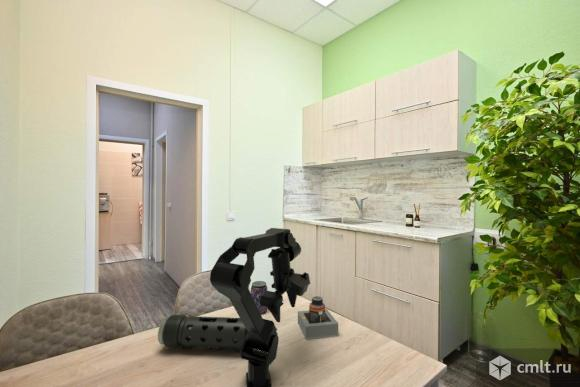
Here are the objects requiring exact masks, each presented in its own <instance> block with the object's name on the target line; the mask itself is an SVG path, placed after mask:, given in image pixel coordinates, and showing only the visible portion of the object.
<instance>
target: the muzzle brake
mask: <svg viewBox="0 0 580 387" xmlns="http://www.w3.org/2000/svg"><path fill="white" fill-rule="evenodd" d="M246 333H247V330H246V328H245V326H244V324H243V322H242V321H241V319H240V317H228V316H227V317H223V316H222V317H221V316H195V315H190V316H187V315H186V314H171V315H170V316H165V317H164V318H162V320H161V322H160V324H159V328H158V331H157V341H158V343H159V344H161V345H163V346H164V347H167V348H180V347H181V349H189V350H190V349H193V348H207V349H210V350H212V349H217V350H227V351H229V350H230V351H241V349H242V346H243V344H244V341H245V335H246Z"/></svg>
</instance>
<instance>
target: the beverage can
mask: <svg viewBox="0 0 580 387" xmlns="http://www.w3.org/2000/svg"><path fill="white" fill-rule="evenodd" d="M267 291H268V286H267V282H266V281H263V280H256V281H254V282H252V283H251V287H250V293H251V295H252V297H253V299H254V301H255V304H256V306H257V308H258V310H259V312H260V314H261V315H262V314H264V313H266V312H268V308H267V307H265V306H261V305H260V302H259V298H260V297H261V296H262V295H263V294H264V293H265V292H267Z"/></svg>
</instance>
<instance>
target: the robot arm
mask: <svg viewBox="0 0 580 387" xmlns="http://www.w3.org/2000/svg"><path fill="white" fill-rule="evenodd" d="M269 249H270V252H269V253H268V255H267V258H268V259H271V268H272V270H271V271H269V274H270V275H269V276H271V277H272V279H273V283H272V284H270V285H271V289H275V290H274V291H270V290H267V292H265V293H264V294H263V295H262V296H261V297H260V298H259V302H260V305H261V306H265V307H267V311H269V313H270V314H271V315H272V317H273V318H274V320H275V321H276V322H277V323H280V322H281V307H282V306H283V305H284V296H283V295H285V293H286V295H287V298H288V301H289V305H290V306H291V308H295V307H296V302H297V297H298V296H299V297H302V296H303V295H304V294H306V293H307V291H308V288H309V286H310V285H311V279H310V275H309V273H307V272H305V271H304V272H303V273H297V272H296V273H295V270H294V268H291V262H292V261H293V260H294V259H296V258H297V257H298V256H299V255H301V252H302V247H301V245H300V244H299V242H297V241H296V237H294V235H293V233H292V232H291V229H289V228H278V227H271V228H269V229H267V230H266V231H265V233H261V234H256V235H250V236H245V237H237V238H236V239H235V240H234V242H233V243H232V245H231V246H230V247H228V249H226V250H225V251H224V252H223V253H222V254H220V256H219V257H218V258H217V260H216V262H215V263H214V266H213V267H212V269H211V271H210V274H209V281H210V284H211V286H212V287H213V288H214V289H215V290H216V291H217V292H218V293H220V294H221V295H223V296H225V297H226V298H228V299H229V301H230V303H231V305H232V306H233V308H234V310H235V312H236V314H237V316H238V318H240V319H241V321H242V322H243V324H244V326H245V328H246V330H247V333H246V335H245V341H244V344H243V346H242V349H241V350H239V351H240V352H239V355H240V359H241V360H245V361H247V372H246V373H245V380H246V381H245V382H246V387H273V386H272V385H273V384H272V383H273V382H272V378H271V374H270V366H271V364H272V363H273V362H274V361H275V360H276V359H277V354H278V345H279V340H280V339H279V338H280V337H279V335H278V332H277V331H278V328H277V327H276V325H275V322H274V321H273V320H270V319H266V318H263V316H262V313H261V314H260V312H259V310H258V308H257V306H256V304H255V301H254V299H253V297H252V295H251V290H250V289H249V287H250V285H251V282H252V279H251V277H252V275H253V273H254V270H255V255H256V253H258V252H263V251H265V250H269ZM240 254H241V255H246V261H245V263H244V264H239V263H238V264H237V263H231V262H233V261H234V260H235V259H236V258H238V257H239V255H240Z"/></svg>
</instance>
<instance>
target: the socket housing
mask: <svg viewBox="0 0 580 387" xmlns="http://www.w3.org/2000/svg"><path fill="white" fill-rule="evenodd" d="M297 325H298V327H299V328H300V330H301V332H302V335H303V336H304V339H305V340H315V339H323V338H332V337H334V338H335V337H339V323H338V321H337V320H336V319H335V318H334V316H333V315H332V314H331V312H330V311H329V310H328V308H325V322H322V323H312V324H309V309H308V310H300V311H297Z"/></svg>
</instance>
